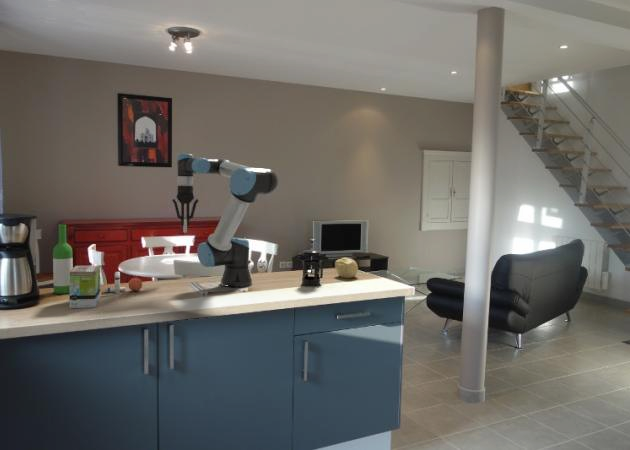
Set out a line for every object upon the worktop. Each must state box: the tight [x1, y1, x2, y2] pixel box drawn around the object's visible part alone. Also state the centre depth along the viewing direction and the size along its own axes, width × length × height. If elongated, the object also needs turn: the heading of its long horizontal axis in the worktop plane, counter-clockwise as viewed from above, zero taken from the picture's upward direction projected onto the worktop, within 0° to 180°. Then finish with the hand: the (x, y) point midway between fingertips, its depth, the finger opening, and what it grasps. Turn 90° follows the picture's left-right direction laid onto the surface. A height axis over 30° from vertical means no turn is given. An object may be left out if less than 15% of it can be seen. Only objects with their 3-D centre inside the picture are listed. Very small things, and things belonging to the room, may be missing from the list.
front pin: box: [104, 286, 126, 293], centre depth 232 cm, size 2×2×8 cm
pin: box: [114, 273, 121, 295], centre depth 229 cm, size 2×2×8 cm
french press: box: [301, 238, 324, 287], centre depth 259 cm, size 12×9×23 cm
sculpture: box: [334, 256, 359, 279], centre depth 281 cm, size 11×12×11 cm
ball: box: [128, 277, 143, 292], centre depth 234 cm, size 6×6×6 cm
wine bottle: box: [52, 224, 74, 295], centre depth 227 cm, size 8×8×30 cm
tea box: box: [68, 265, 101, 309], centre depth 209 cm, size 15×10×15 cm, turn 17°
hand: (185, 232), depth 259 cm, fingers closed
